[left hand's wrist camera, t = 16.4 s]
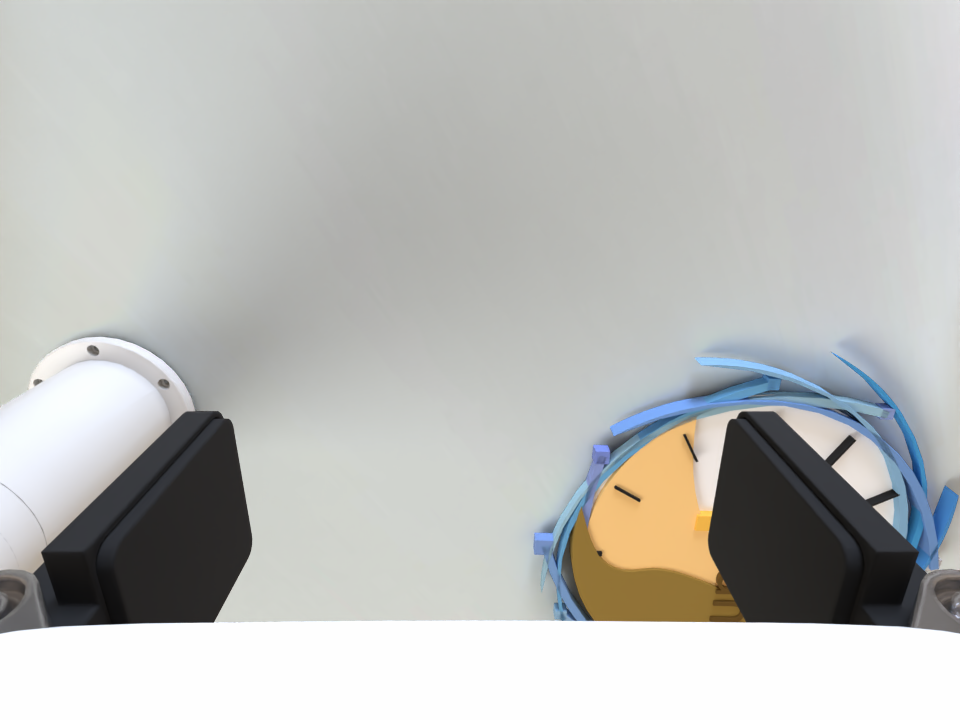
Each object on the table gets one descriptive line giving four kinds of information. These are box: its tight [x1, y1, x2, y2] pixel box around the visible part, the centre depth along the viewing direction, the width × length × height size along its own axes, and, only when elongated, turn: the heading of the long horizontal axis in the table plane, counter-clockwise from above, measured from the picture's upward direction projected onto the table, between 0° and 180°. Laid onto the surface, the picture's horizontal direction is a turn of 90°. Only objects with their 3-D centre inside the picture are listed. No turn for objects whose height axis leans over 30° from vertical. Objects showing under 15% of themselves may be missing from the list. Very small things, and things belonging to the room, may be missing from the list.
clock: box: [534, 352, 958, 623], centre depth 51 cm, size 34×35×2 cm
